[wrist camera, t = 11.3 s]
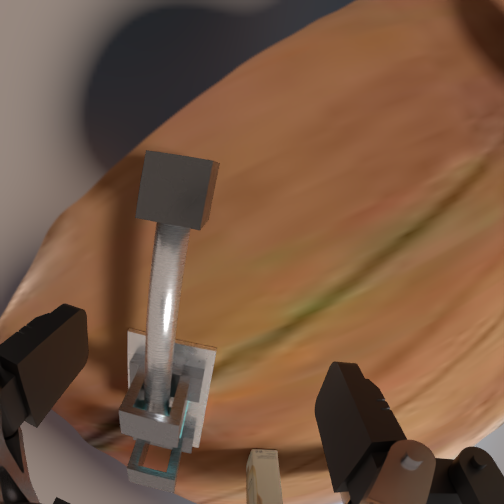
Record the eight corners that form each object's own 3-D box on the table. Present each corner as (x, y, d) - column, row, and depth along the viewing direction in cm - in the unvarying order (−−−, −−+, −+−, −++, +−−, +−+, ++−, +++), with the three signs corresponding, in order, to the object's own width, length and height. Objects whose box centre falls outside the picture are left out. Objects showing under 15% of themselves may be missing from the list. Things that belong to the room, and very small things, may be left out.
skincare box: (251, 447, 40) (253, 509, 28) (278, 449, 40) (284, 510, 28) (245, 467, 41) (245, 524, 30) (269, 468, 42) (274, 524, 30)
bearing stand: (216, 347, 34) (207, 411, 24) (199, 444, 39) (191, 498, 29) (129, 327, 34) (94, 381, 23) (132, 428, 39) (113, 479, 28)
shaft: (164, 154, 24) (146, 150, 20) (219, 163, 25) (213, 160, 20) (141, 396, 31) (130, 424, 26) (181, 406, 32) (174, 436, 27)
